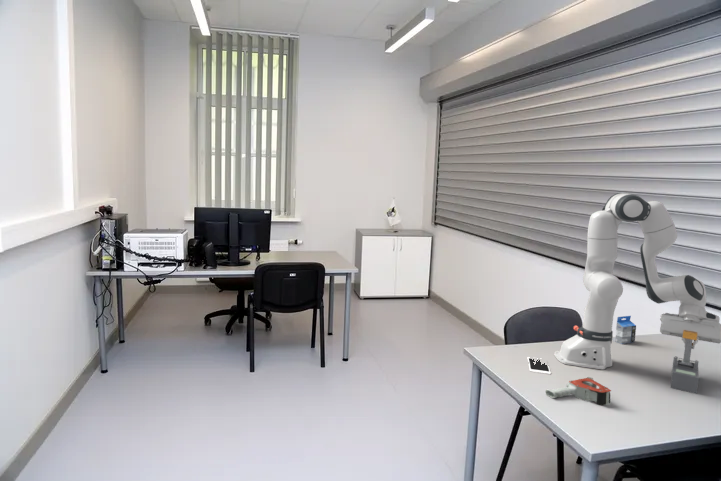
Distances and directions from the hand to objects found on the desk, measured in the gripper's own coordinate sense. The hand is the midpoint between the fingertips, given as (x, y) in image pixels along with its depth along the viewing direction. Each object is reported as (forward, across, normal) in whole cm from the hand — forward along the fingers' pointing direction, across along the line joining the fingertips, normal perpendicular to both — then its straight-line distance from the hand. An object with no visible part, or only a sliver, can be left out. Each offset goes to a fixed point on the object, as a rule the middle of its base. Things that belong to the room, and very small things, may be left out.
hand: (689, 347), depth 181 cm
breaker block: (+11, -1, +8) cm, 14 cm away
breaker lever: (+6, -1, +3) cm, 6 cm away
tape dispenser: (+38, -32, -20) cm, 54 cm away
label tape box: (-16, -24, +36) cm, 46 cm away
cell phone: (+24, -50, -6) cm, 56 cm away
